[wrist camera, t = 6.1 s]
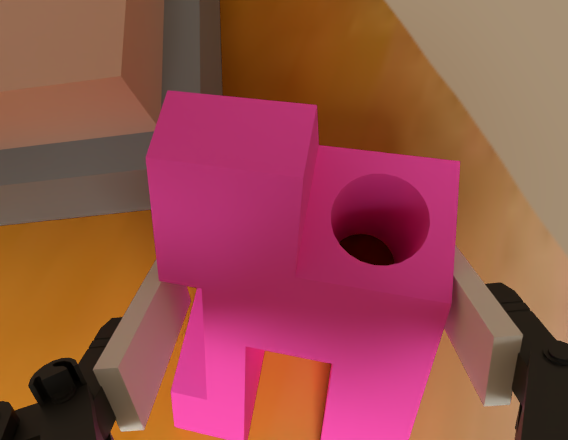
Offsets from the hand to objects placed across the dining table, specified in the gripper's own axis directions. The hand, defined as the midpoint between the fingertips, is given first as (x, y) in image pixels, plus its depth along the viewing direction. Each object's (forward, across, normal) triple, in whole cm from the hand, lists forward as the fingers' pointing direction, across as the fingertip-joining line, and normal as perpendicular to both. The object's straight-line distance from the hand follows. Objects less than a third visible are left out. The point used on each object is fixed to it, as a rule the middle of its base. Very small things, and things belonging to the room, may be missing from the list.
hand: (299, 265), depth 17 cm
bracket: (+2, 0, -4) cm, 5 cm away
